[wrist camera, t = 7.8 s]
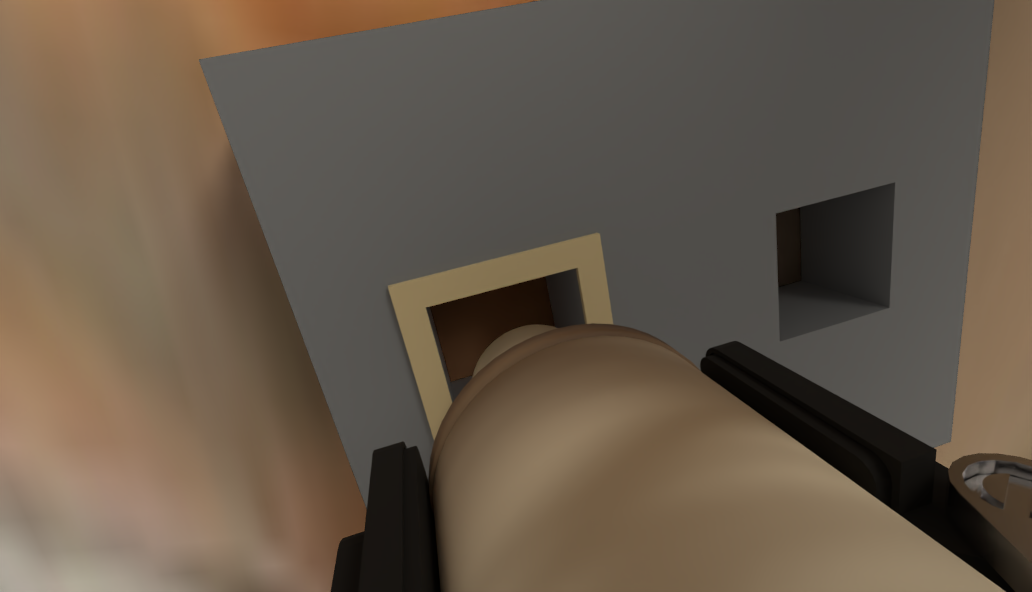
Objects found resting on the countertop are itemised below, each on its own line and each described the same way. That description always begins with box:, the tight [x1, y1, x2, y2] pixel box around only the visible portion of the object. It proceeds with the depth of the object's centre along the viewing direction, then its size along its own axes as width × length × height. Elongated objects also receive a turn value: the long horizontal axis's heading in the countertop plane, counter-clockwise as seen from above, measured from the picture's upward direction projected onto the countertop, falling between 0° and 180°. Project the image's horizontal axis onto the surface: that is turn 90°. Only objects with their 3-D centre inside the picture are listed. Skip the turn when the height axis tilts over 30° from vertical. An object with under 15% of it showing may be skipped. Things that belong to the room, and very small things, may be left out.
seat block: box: [199, 0, 994, 508], centre depth 17 cm, size 22×18×4 cm
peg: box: [428, 323, 1006, 592], centre depth 8 cm, size 6×6×10 cm
